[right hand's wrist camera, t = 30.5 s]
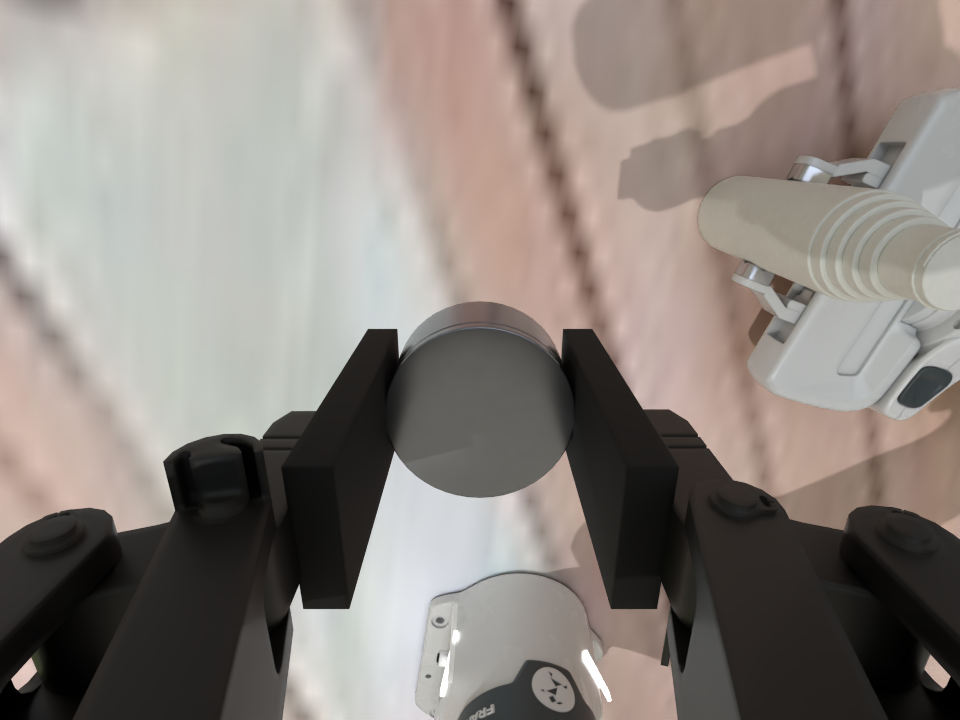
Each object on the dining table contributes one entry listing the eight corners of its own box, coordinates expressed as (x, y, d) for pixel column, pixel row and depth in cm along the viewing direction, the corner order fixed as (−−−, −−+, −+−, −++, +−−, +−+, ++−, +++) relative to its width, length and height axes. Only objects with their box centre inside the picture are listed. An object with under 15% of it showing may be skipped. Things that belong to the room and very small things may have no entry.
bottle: (785, 188, 39) (1071, 225, 20) (750, 260, 41) (981, 354, 22) (717, 165, 39) (945, 181, 20) (685, 239, 41) (865, 317, 22)
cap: (365, 394, 14) (346, 433, 12) (463, 265, 13) (460, 286, 11) (494, 479, 15) (496, 527, 13) (596, 366, 14) (616, 402, 12)
